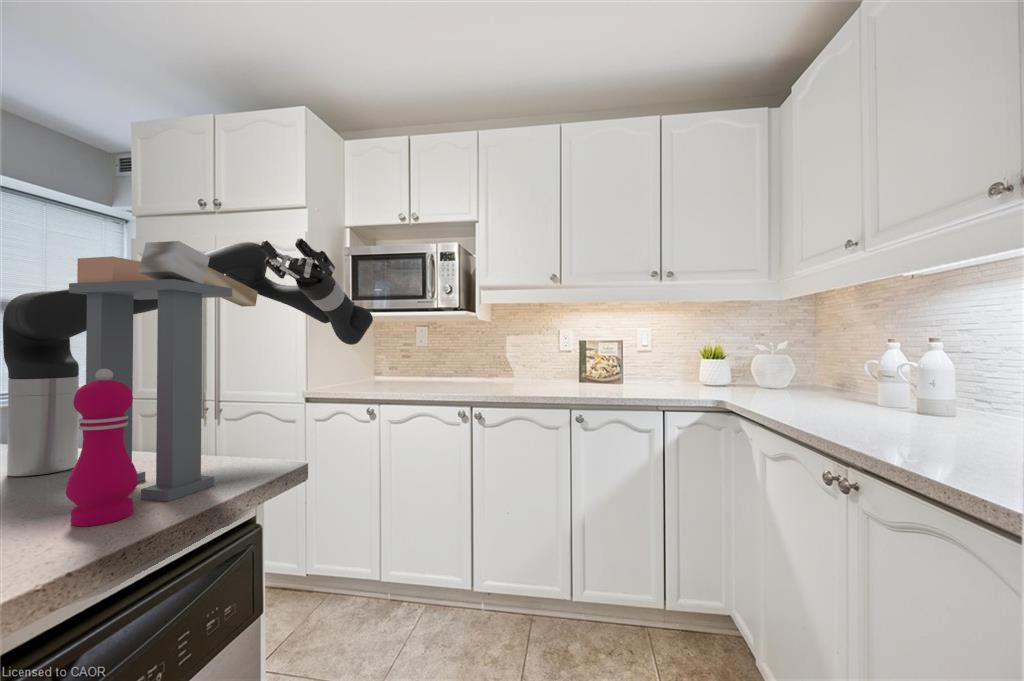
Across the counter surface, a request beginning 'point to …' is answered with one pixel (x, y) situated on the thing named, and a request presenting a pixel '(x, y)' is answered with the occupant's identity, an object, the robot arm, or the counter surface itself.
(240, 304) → the mallet
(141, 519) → the counter surface
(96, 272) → the base block
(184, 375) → the shelf
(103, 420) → the pepper mill
